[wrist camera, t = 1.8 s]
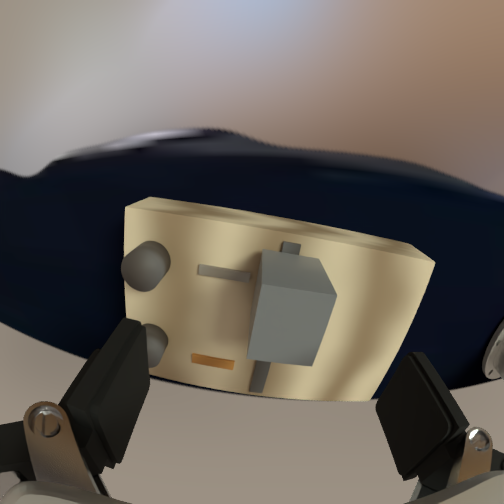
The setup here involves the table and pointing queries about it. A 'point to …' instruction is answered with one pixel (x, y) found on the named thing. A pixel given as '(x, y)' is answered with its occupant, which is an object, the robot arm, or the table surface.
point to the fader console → (242, 291)
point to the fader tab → (289, 309)
